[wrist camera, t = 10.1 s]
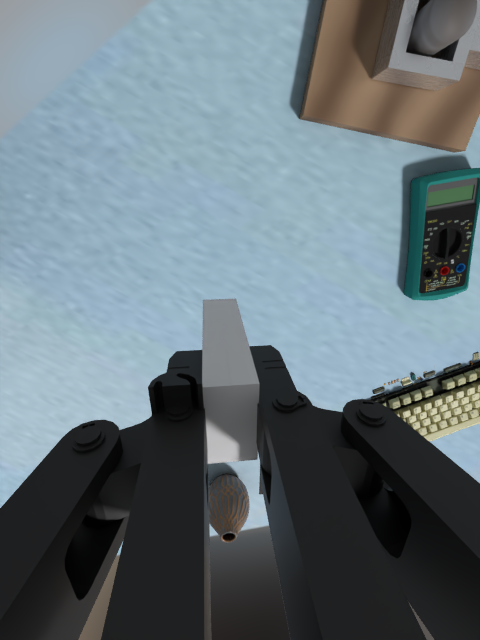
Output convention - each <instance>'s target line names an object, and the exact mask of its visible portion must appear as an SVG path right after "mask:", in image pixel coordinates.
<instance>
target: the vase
mask: <svg viewBox="0 0 480 640" xmlns="http://www.w3.org/2000/svg"><path fill="white" fill-rule="evenodd" d="M248 513H249V496H248V492H247V489H246V487H245V485H244V484H243V482H242V481H241V480H240V479H239V478H237V477H235V476H233V475H229V474H226V475H221V476H219V477H218V478H216V479H215V480H214V481H213V482H212V483H211V484H210V486H209V523H210V525H211V526H212V527H213V529H214V530H215V531H216V532H217V533H218V534H219V537H220V539H221V540H222V541H223V542H226V543H229V542H233V541H235V540H236V539H237V536H238V533H239V531H240V530H241V528H242V527H243V525H244V524H245V522H246V520H247V517H248Z"/></svg>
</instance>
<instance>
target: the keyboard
mask: <svg viewBox="0 0 480 640" xmlns="http://www.w3.org/2000/svg"><path fill="white" fill-rule="evenodd" d="M478 353H479V352H477V353H474V354H473V360H477V359H479V354H478ZM471 362H472V361H470V365H468V366H465V367H462V368H459V367H461V363H459V364H456V365H453V366H450V367H448V368H445V369H444V372H448V371H451V370H453V371H451V372H448V373H445V374H443V375H440V376H437V377H435V378H432V379H429V380H425V381H422V382H420V383H414V384H412V385H411V386H408V387H406V388H403V389H402V390H400V391H397V392H391V393H389V395H388V394H386V395H384V393H381V394H379V395H376V396H373V397H372V401H375V402H377V403H380V404H383V405H384V406H386V407H387V408H389V409H390V410H392V411H393V412H394V413H395V414H397V415H398V416H399V417H400V418H401V419H403V420H404V421H405V422H406V423H407V424H409V425H410V426H411V427H412V428H413V429H415V430H416V431H417V432H418V433H419V434H421V435H422V436H423V437H424V438H425V439H427V440H428V441H433V440H436V439H438V438H440V437H443V436H445V435H448V434H452V433H453V432H456V431H459V430H461V429H464V428H467V427H470V426H473V425H476V424H479V423H480V361H479V362H476V363H471ZM456 368H459V369H456ZM454 369H456V370H454ZM426 372H427V371H426ZM423 373H425V372H423ZM434 374H435V371H431V372H429V373H425V374H424V378H426V377H429V376H432V375H434ZM417 378H418V379H421V380H423V379H422V378H419V377H417ZM411 379H412V380H413V381H414V380H416V378H415V374H414V373H412V374H411ZM398 380H399V379H397V382H398ZM401 380H402V386H405V385H408V384H411V383H412V382H411V381H410V380H409V377H406V378H403V379H401ZM394 383H396V380H394ZM391 384H393V381H391ZM384 385H385V384H384ZM388 385H390V382H388ZM384 389H385V388H384V387H380V388H378V389H375V390H373V394H376V393H379V392H382V391H384ZM376 397H378V398H376Z"/></svg>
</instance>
